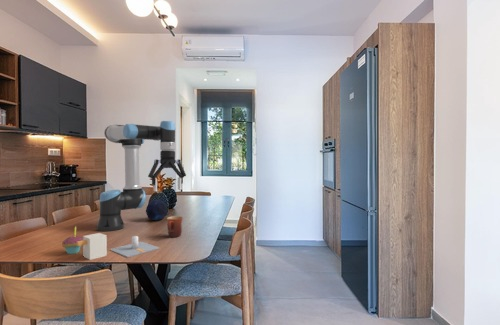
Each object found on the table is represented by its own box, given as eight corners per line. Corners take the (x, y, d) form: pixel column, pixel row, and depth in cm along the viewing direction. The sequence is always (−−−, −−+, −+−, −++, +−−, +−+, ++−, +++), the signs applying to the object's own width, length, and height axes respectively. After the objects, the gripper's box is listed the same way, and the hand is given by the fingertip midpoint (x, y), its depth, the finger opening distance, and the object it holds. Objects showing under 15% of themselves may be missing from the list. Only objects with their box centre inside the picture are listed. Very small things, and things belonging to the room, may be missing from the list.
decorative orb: (152, 216, 187) (163, 196, 195) (137, 213, 195) (148, 195, 203) (165, 225, 197) (175, 206, 205) (150, 223, 205) (160, 205, 212)
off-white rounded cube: (99, 252, 131) (99, 232, 130) (106, 255, 126) (106, 235, 126) (74, 258, 122) (74, 237, 122) (81, 262, 118) (80, 240, 118)
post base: (110, 250, 134) (110, 237, 134) (141, 242, 146) (141, 230, 146) (127, 257, 124) (127, 243, 124) (159, 248, 136) (159, 236, 136)
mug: (171, 233, 164) (171, 215, 164) (185, 234, 162) (185, 216, 162) (160, 239, 152) (160, 220, 152) (175, 240, 150) (175, 221, 150)
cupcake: (68, 249, 135) (68, 224, 134) (87, 249, 135) (87, 224, 135) (58, 255, 126) (58, 228, 126) (78, 255, 127) (78, 228, 127)
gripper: (147, 149, 140) (147, 192, 140) (192, 150, 156) (192, 189, 156) (141, 150, 145) (141, 191, 145) (185, 151, 162) (185, 188, 162)
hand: (167, 190), depth 151 cm, fingers open, 13 cm apart
